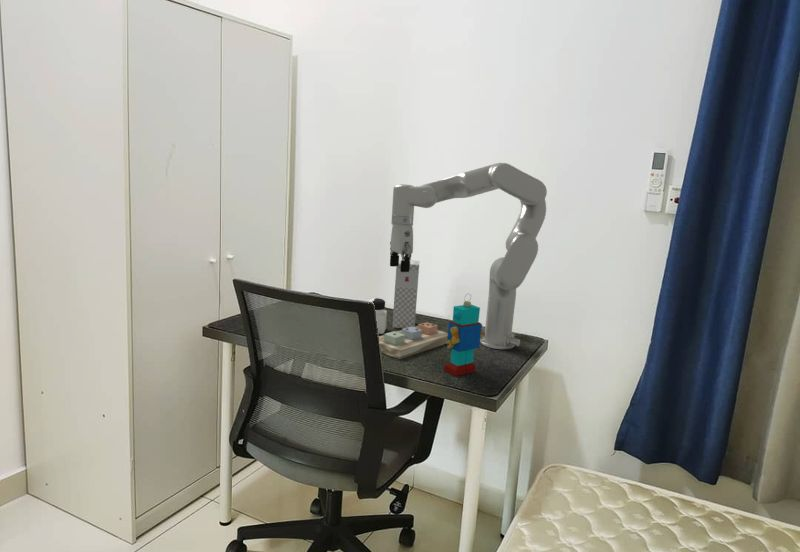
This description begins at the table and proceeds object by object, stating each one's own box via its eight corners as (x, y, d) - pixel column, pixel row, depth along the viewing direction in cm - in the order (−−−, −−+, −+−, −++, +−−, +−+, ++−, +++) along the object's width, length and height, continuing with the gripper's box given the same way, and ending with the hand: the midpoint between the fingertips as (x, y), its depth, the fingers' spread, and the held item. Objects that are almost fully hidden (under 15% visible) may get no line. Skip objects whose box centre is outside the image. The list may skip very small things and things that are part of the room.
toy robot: (467, 365, 181) (474, 289, 176) (480, 371, 176) (488, 294, 171) (439, 371, 174) (446, 292, 169) (452, 378, 169) (460, 297, 164)
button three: (437, 333, 203) (437, 324, 203) (428, 336, 199) (429, 327, 199) (426, 329, 206) (426, 321, 206) (417, 332, 203) (418, 323, 202)
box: (393, 321, 224) (397, 259, 219) (414, 322, 223) (419, 261, 218) (392, 327, 215) (396, 263, 210) (414, 329, 215) (419, 265, 210)
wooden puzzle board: (450, 342, 203) (451, 334, 202) (399, 359, 182) (400, 350, 181) (420, 332, 212) (421, 324, 211) (368, 347, 191) (368, 339, 190)
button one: (404, 343, 190) (405, 334, 189) (394, 346, 186) (395, 337, 185) (393, 339, 193) (394, 330, 192) (383, 342, 189) (384, 333, 189)
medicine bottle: (385, 328, 213) (387, 298, 211) (383, 334, 206) (385, 302, 204) (367, 326, 214) (369, 296, 212) (364, 332, 207) (366, 300, 205)
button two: (421, 338, 196) (422, 329, 196) (412, 341, 193) (412, 332, 192) (410, 334, 200) (411, 325, 199) (401, 337, 196) (401, 328, 195)
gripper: (422, 224, 189) (419, 273, 192) (402, 217, 204) (399, 264, 208) (402, 223, 186) (398, 274, 190) (383, 217, 202) (380, 264, 205)
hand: (399, 268), depth 199 cm, fingers open, 9 cm apart
